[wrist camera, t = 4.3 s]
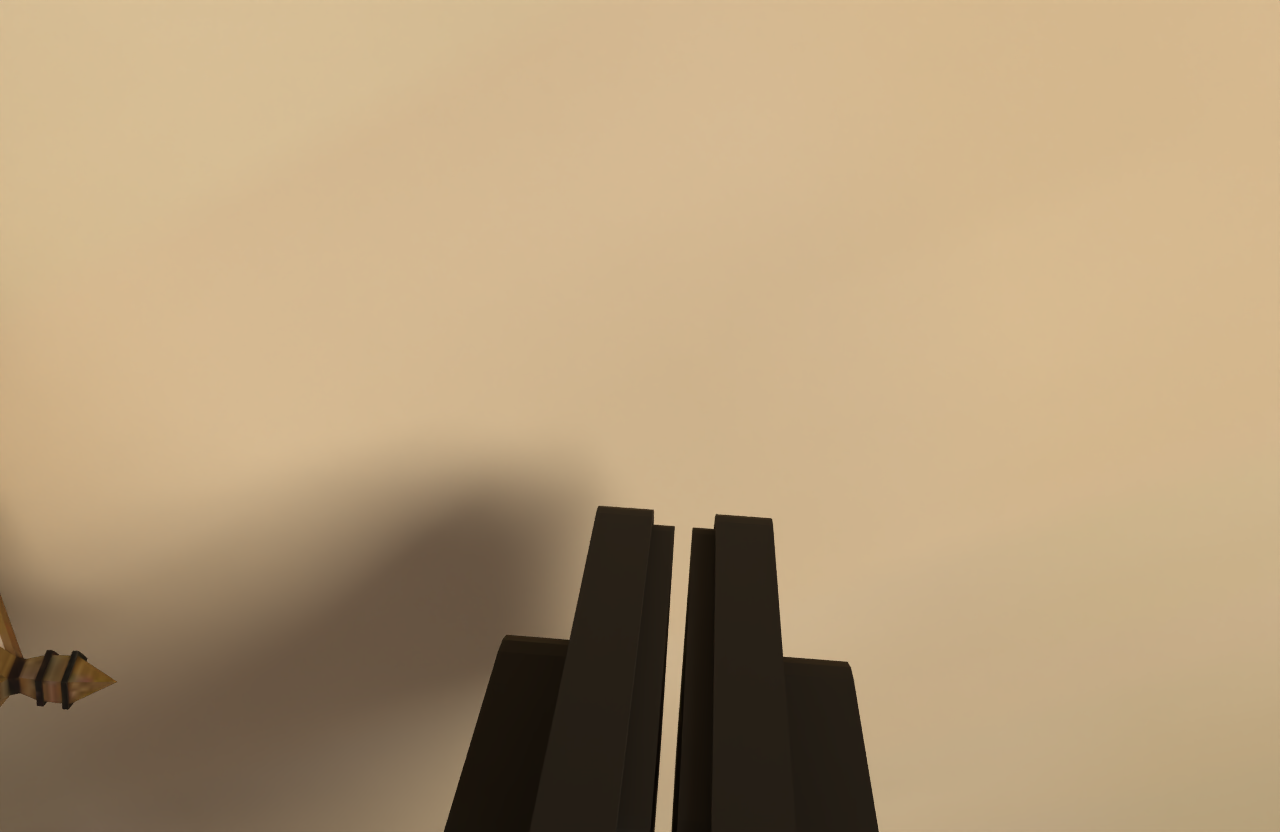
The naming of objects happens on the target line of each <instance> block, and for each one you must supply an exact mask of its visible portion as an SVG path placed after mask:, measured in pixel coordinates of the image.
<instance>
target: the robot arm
mask: <svg viewBox="0 0 1280 832" xmlns="http://www.w3.org/2000/svg"><path fill="white" fill-rule="evenodd" d="M674 530H675V526H664V525H654V510H649V509H635V508H621V507H608V506H598V508H597V512H596V517H595V521H594V526H593V531H592V536H591V540H590V545H589V550H588V555H587V559H586V564H585V569H584V574H583V578H582V583H581V588H580V593H579V598H578V602H577V607H576V612H575V617H574V621H573V626H572V631H571V636H570V640H564V639H552V638H539V637H526V636H514V635H506V636H505V637H504V639H503V640H502V643H501V645H500V648H499V651H498V654H497V657H496V660H495V664H494V667H493V670H492V674H491V677H490V680H489V684H488V687H487V690H486V694H485V697H484V700H483V703H482V707H481V710H480V713H479V717H478V720H477V723H476V727H475V730H474V733H473V737H472V740H471V743H470V747H469V750H468V753H467V757H466V760H465V763H464V766H463V770H462V773H461V776H460V780H459V783H458V786H457V790H456V793H455V796H454V800H453V803H452V806H451V810H450V813H449V816H448V820H447V823H446V826H445V830H444V832H654V830H655V817H656V804H657V791H658V778H659V764H660V750H661V735H662V720H663V704H664V688H665V673H666V657H667V641H668V625H669V610H670V594H671V578H672V563H673V547H674ZM672 832H879V831H878V825H877V818H876V812H875V806H874V800H873V794H872V788H871V782H870V776H869V770H868V764H867V758H866V752H865V745H864V739H863V733H862V727H861V721H860V715H859V709H858V703H857V697H856V691H855V685H854V679H853V675H852V670H851V667H850V665H849V664H848V662H843V661H830V660H817V659H805V658H792V657H783V650H782V637H781V624H780V611H779V598H778V585H777V571H776V558H775V545H774V532H773V522H772V519H771V518H760V517H746V516H732V515H718V514H716V516H715V523H714V529H705V528H693V530H692V543H691V556H690V570H689V584H688V597H687V611H686V625H685V638H684V652H683V666H682V679H681V693H680V707H679V720H678V734H677V748H676V764H675V781H674V798H673V816H672Z"/></svg>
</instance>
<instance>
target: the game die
mask: <svg viewBox="0 0 1280 832" xmlns="http://www.w3.org/2000/svg"><path fill="white" fill-rule="evenodd" d="M116 682H117V681H115V680H114V679H112V678H111V677H109V676H108V675H106V674H104V673H103V672H101V671H100V670H98V669H97V668H95V667H94V666H92V665H91V664H89V663H88V662H87V658H86V657H85V656H84V655H83V654H82V653H80V652H79V651H73V652H72V654H71V656H66V655H59V654H57V653H56V652H55V651H53V650H47V651H46V654H45V656H39V657H34V658H29V659H24V658H23V656H22V653H21V651H20V648H19V645H18V642H17V640H16V637H15V634H14V631H13V628H12V626H11V623H10V620H9V617H8V615H7V612H6V609H5V606H4V604H3V601H2V598H1V595H0V707H1V706H2V704H3V703H4V702H5V701H6V700H7V698H8V697H9V696H10V695H13V694H18V693H21V694H24V695H26V696H29V697H31V698H34V699H36V700H37V706H44V705H45V704H46V703H47V702H55V703H62V708H63V709H67V710H68V709H69V708H70V707H71V706H72V704H73V703H74V702H75V701H77V700H79V699H81V698H84V697H86V696H88V695H90V694H92V693H94V692H96V691H99V690H101V689H103V688H105V687H107V686H109V685H111V684H114V683H116Z"/></svg>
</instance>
